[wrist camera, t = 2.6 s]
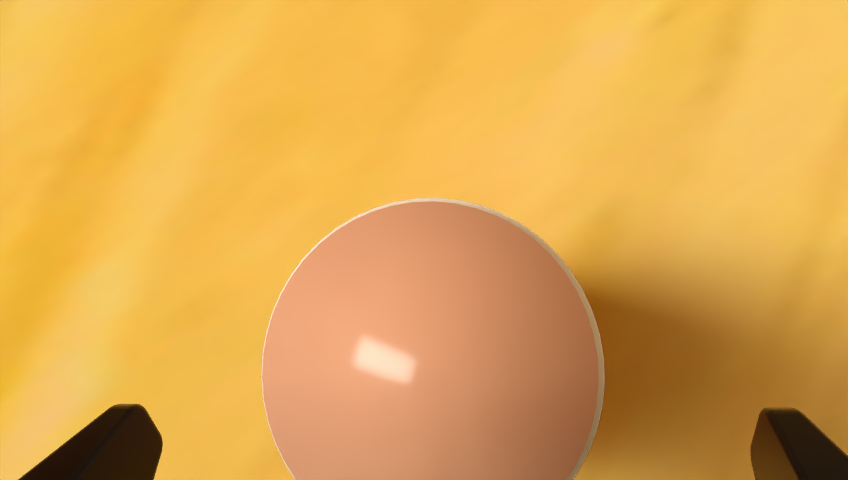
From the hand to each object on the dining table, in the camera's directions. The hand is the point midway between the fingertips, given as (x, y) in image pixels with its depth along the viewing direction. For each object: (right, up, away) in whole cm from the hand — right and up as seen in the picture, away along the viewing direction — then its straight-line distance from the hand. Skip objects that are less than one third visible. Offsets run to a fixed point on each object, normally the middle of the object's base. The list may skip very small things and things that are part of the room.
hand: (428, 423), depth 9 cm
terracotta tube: (+1, -1, +8) cm, 9 cm away
